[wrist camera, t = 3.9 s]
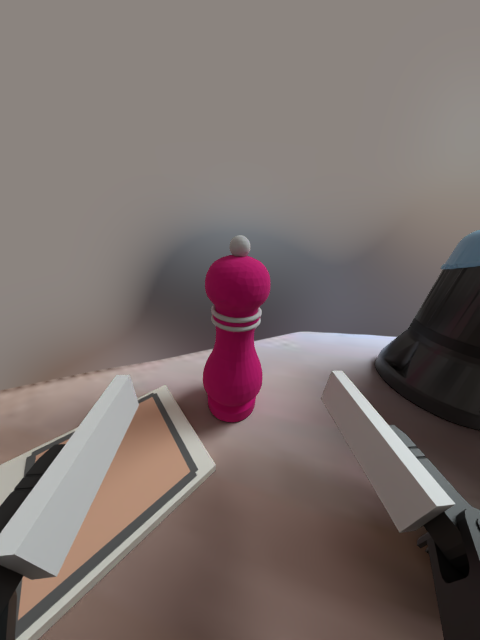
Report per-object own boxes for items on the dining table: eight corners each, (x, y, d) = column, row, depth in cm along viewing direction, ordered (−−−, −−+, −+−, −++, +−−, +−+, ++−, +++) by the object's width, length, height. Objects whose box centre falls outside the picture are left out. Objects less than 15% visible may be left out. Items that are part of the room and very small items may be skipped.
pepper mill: (192, 413, 21) (175, 231, 12) (219, 374, 27) (220, 233, 18) (248, 437, 19) (276, 239, 10) (263, 389, 25) (289, 238, 16)
